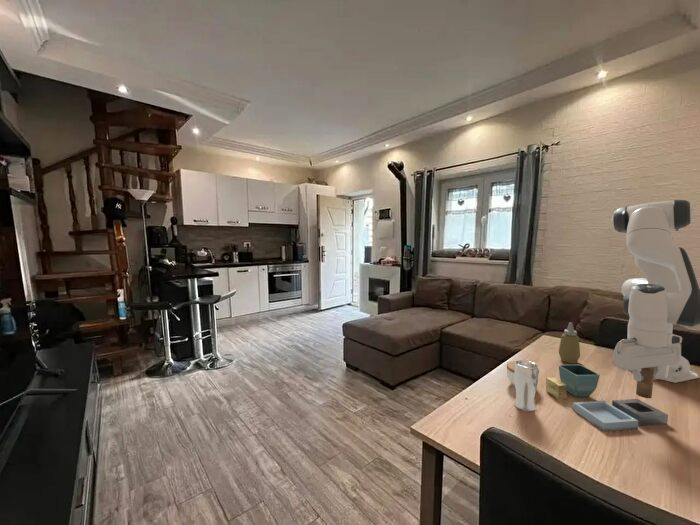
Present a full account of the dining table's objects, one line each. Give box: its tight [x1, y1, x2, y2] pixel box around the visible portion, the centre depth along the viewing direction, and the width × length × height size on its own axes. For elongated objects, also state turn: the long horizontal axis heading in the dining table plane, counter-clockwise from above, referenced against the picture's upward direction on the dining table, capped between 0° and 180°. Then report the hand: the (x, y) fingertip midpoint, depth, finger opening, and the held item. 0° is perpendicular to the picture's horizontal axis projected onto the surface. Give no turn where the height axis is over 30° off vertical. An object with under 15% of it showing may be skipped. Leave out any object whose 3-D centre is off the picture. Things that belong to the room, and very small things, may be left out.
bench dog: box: [545, 376, 567, 400], centre depth 108 cm, size 3×6×5 cm, turn 5°
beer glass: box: [514, 359, 539, 413], centre depth 100 cm, size 7×7×15 cm
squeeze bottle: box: [558, 322, 581, 364], centre depth 136 cm, size 8×8×18 cm
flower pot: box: [558, 364, 600, 397], centre depth 109 cm, size 9×9×9 cm
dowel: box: [635, 367, 654, 399], centre depth 93 cm, size 4×4×10 cm
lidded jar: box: [506, 360, 540, 388], centre depth 114 cm, size 11×11×9 cm
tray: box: [572, 400, 639, 432], centre depth 94 cm, size 11×11×2 cm
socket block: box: [611, 398, 669, 427], centre depth 95 cm, size 9×9×3 cm
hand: (645, 379), depth 93 cm, fingers closed on dowel, 4 cm apart
